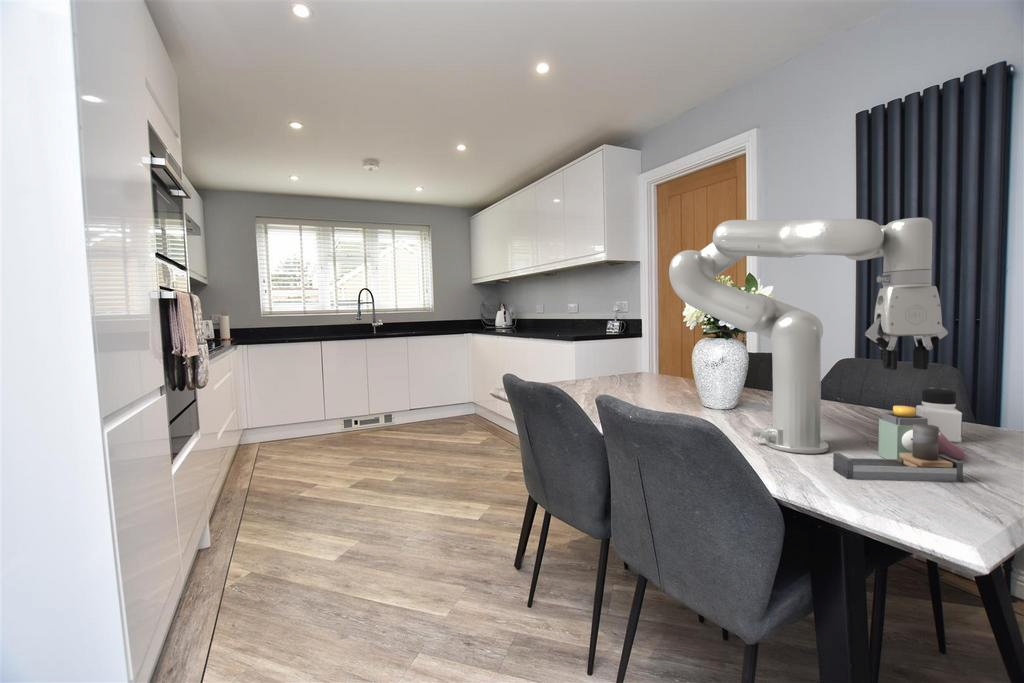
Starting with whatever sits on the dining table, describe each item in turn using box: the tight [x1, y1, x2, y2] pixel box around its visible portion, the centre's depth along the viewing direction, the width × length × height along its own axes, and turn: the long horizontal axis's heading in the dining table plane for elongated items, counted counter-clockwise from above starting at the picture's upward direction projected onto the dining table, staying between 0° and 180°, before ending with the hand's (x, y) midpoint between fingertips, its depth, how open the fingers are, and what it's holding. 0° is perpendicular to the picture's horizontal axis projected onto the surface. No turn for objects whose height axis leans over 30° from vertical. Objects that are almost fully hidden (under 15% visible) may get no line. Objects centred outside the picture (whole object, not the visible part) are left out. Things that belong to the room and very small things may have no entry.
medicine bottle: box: [915, 387, 963, 443], centre depth 112 cm, size 7×7×12 cm
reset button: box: [892, 405, 916, 417], centre depth 96 cm, size 4×4×2 cm
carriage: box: [899, 424, 953, 467], centre depth 86 cm, size 5×6×8 cm
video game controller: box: [938, 430, 966, 461], centre depth 100 cm, size 10×5×7 cm, turn 154°
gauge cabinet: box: [877, 412, 928, 459], centre depth 96 cm, size 6×7×9 cm
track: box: [832, 452, 964, 483], centre depth 87 cm, size 19×5×4 cm, turn 81°
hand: (905, 368), depth 95 cm, fingers open, 4 cm apart
